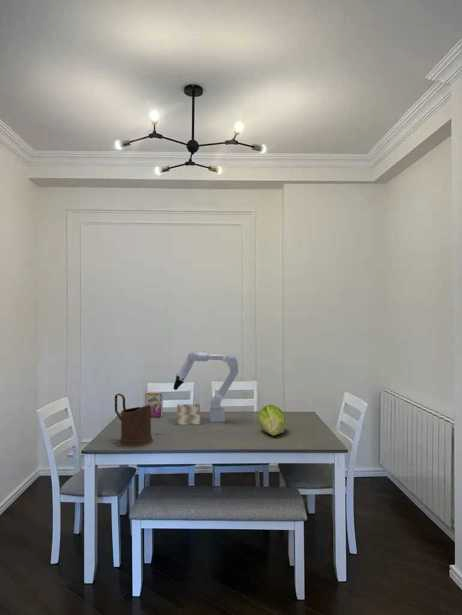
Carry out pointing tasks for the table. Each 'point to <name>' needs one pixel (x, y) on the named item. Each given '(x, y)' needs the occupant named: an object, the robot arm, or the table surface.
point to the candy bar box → (155, 403)
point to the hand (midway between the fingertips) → (174, 388)
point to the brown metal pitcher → (134, 424)
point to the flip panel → (188, 414)
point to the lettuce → (272, 420)
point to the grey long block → (176, 422)
